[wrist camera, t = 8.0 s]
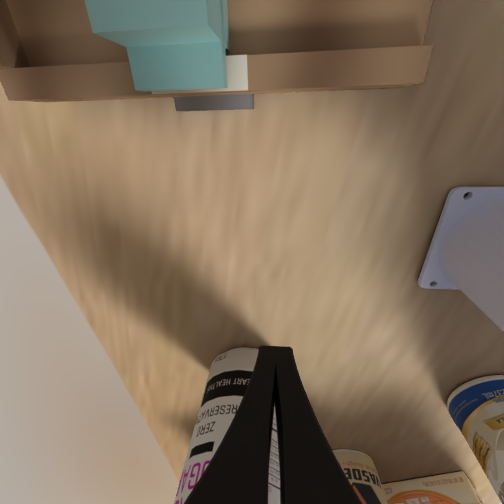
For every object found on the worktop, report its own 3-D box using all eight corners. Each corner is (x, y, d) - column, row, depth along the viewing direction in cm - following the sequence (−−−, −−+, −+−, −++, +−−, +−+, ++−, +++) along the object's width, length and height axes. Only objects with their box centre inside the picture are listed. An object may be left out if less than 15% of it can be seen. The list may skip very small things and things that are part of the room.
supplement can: (268, 399, 30) (260, 621, 17) (202, 377, 29) (141, 593, 16) (299, 359, 26) (320, 606, 13) (225, 332, 25) (168, 569, 12)
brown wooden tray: (431, -125, 11) (522, -267, 7) (386, 104, 15) (426, 101, 11) (7, -76, 13) (-120, -164, 9) (70, 115, 17) (4, 116, 13)
